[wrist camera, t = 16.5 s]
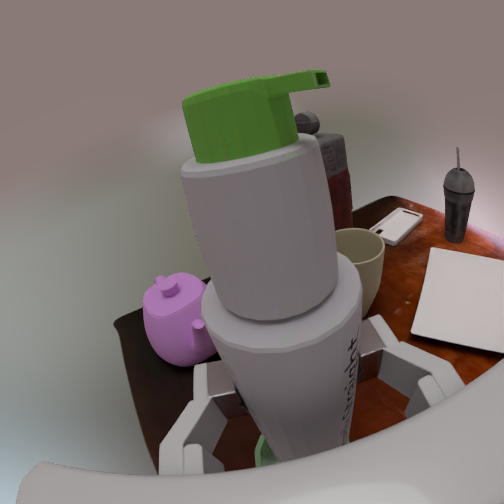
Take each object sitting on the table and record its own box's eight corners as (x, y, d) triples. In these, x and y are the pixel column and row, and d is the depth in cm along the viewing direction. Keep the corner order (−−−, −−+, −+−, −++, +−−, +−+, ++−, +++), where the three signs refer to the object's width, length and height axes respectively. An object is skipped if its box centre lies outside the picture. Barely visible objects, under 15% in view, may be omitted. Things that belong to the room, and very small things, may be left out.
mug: (395, 313, 38) (403, 247, 32) (340, 340, 37) (338, 273, 31) (360, 277, 48) (359, 215, 42) (310, 296, 47) (302, 234, 41)
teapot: (145, 330, 48) (115, 280, 42) (204, 295, 54) (183, 243, 48) (190, 407, 33) (150, 354, 27) (269, 354, 38) (250, 292, 33)
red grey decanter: (359, 242, 57) (346, 106, 43) (328, 269, 52) (307, 115, 38) (327, 231, 64) (308, 108, 50) (294, 255, 58) (267, 118, 44)
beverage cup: (473, 238, 47) (481, 148, 37) (459, 250, 46) (468, 153, 36) (449, 226, 53) (453, 141, 43) (433, 237, 52) (436, 145, 42)
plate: (535, 367, 20) (541, 358, 19) (407, 341, 34) (410, 331, 33) (524, 273, 34) (527, 264, 33) (429, 255, 47) (431, 245, 46)
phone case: (394, 247, 52) (423, 219, 58) (395, 241, 52) (423, 214, 58) (366, 236, 58) (398, 211, 64) (366, 231, 57) (398, 207, 63)
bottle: (307, 494, 12) (156, 88, 2) (267, 452, 16) (113, 126, 6) (358, 452, 14) (384, 65, 4) (316, 416, 17) (257, 86, 7)
